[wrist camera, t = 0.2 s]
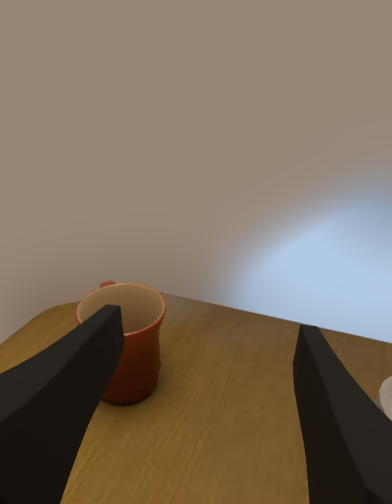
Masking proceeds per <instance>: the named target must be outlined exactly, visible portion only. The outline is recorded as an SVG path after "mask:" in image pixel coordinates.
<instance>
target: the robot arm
mask: <svg viewBox="0 0 392 504" xmlns="http://www.w3.org/2000/svg"><path fill="white" fill-rule="evenodd" d="M124 345H125V340H124V332H123V323H122V315H121V306H119V305H109V304H106V305H105V306H103V307H102V308H101V309H99V310H98V311H97V312H95V313H94V314H93V315H92V316H90V317H89V318H88V319H86V320H85V321H84V322H83V323H81V324H80V325H79V326H77V327H76V328H75V329H73V330H72V331H71V332H69V333H68V334H67V335H65V336H64V337H62V338H61V339H59V340H58V341H56V342H55V343H53V344H52V345H51V346H49V347H48V348H46V349H44V350H43V351H41V352H40V353H38V354H36V355H35V356H33V357H31V358H29V359H28V360H26V361H24V362H22V363H21V364H19V365H17V366H15V367H13V368H11V369H9V370H7V371H5V372H3V373H1V374H0V504H60V502H61V499H62V496H63V493H64V490H65V487H66V484H67V481H68V478H69V475H70V472H71V470H72V467H73V464H74V461H75V458H76V456H77V453H78V450H79V447H80V445H81V442H82V440H83V437H84V434H85V432H86V429H87V427H88V424H89V422H90V420H91V418H92V415H93V413H94V411H95V409H96V407H97V405H98V403H99V401H100V399H101V397H102V395H103V393H104V391H105V389H106V387H107V385H108V384H109V381H110V379H111V377H112V375H113V373H114V371H115V369H116V367H117V365H118V362H119V359H120V357H121V354H122V351H123V348H124ZM293 378H294V390H295V396H296V402H297V408H298V414H299V419H300V425H301V430H302V436H303V441H304V447H305V455H306V463H307V476H308V488H309V502H310V504H392V421H391V420H390V419H389V418H388V417H387V416H386V415H385V414H384V413H383V412H382V411H381V410H380V408H379V407H378V406H377V405H376V404H375V403H374V402H373V401H372V400H371V399H370V398H369V397H368V395H367V394H366V393H365V392H364V391H363V390H362V388H361V387H360V386H359V385H358V384H357V382H356V381H355V380H354V379H353V377H352V376H351V375H350V373H349V372H348V371H347V369H346V368H345V367H344V365H343V364H342V363H341V361H340V360H339V359H338V357H337V356H336V354H335V353H334V351H333V350H332V348H331V347H330V345H329V344H328V342H327V341H326V339H325V338H324V336H323V334H322V333H321V331H320V330H319V328H318V327H317V326H308V325H300V329H299V335H298V340H297V345H296V350H295V355H294V360H293Z"/></svg>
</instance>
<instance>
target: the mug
mask: <svg viewBox="0 0 392 504" xmlns="http://www.w3.org/2000/svg"><path fill="white" fill-rule="evenodd" d="M106 304H109V305H119V306H121V315H122V323H123V332H124V340H125V345H124V348H123V351H122V354H121V357H120V359H119V362H118V365H117V367H116V369H115V371H114V373H113V375H112V377H111V379H110V381H109V384H108V385H107V387H106V389H105V391H104V393H103V395H102V397H103V398H104V399H106V400H107V401H110V402H113V403H119V404H124V403H131V402H135V401H138V400H140V399H142V398H144V397H145V396H147V395H148V394H149V393H150V392H151V391H152V390H153V389H154V387H155V385H156V383H157V380H158V375H159V371H160V366H161V362H160V344H159V330H160V326H161V323H162V320H163V318H164V315H165V312H166V302H165V300H164V298H163V296H162V295H161V294H160V293H159V292H157V291H156V290H154V289H152V288H150V287H148V286H144V285H140V284H133V283H119V284H115V282H114V281H111V280H110V281H105V282H102V283H101V284H100V288H98V289H96V290H94V291H92V292H91V293H89V294H88V295H87V296H85V297H84V298H83V299H82V300H81V301H80V302H79V304H78V306H77V308H76V312H75V316H76V320H77V323H78V324H79V325H80V324H81V323H83V322H84V321H85V320H86V319H88V318H89V317H90V316H92V315H93V314H94V313H95V312H97V311H98V310H99V309H101V308H102V307H103V306H105V305H106Z"/></svg>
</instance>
